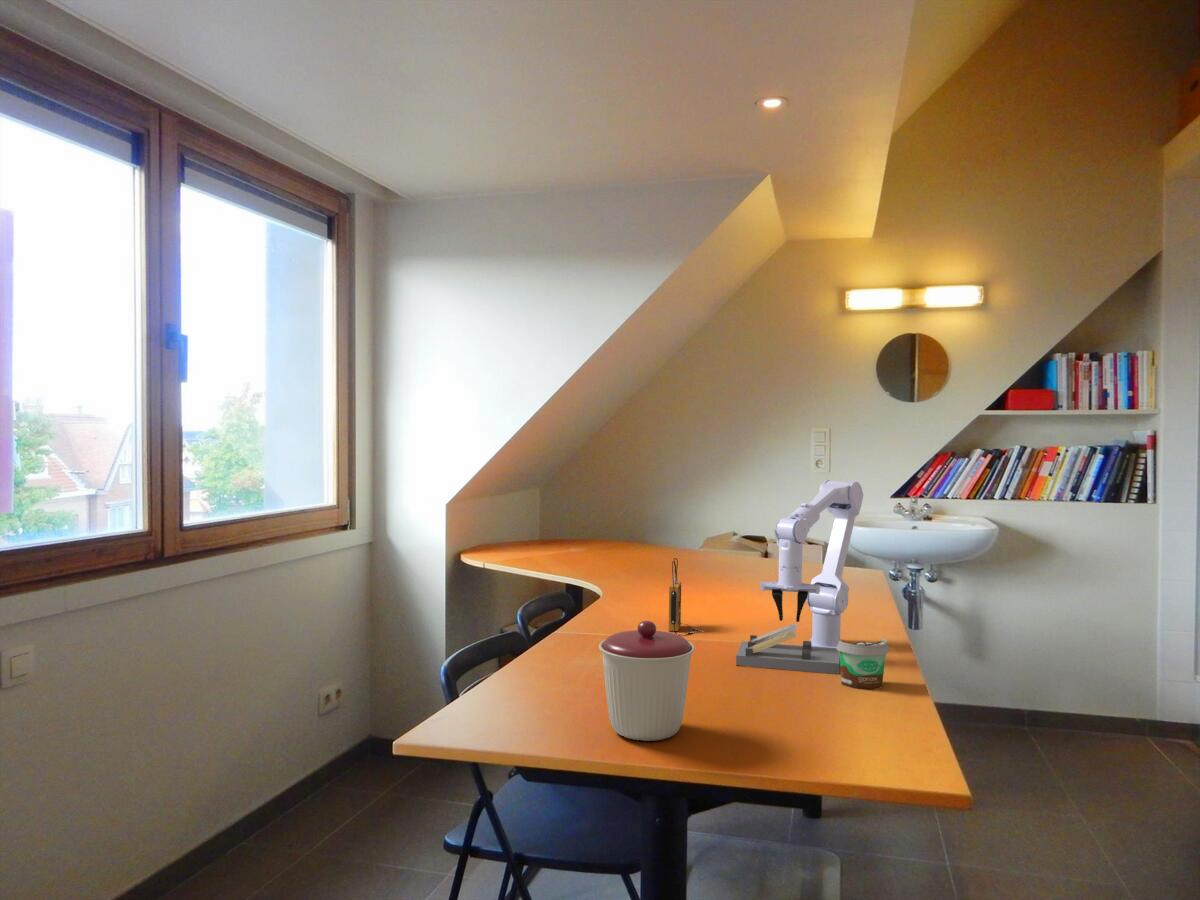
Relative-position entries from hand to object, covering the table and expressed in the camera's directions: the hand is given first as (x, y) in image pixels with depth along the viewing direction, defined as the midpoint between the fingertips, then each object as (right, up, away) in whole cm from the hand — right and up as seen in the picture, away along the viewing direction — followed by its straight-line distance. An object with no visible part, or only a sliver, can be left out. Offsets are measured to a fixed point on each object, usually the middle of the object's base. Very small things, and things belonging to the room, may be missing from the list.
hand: (789, 620), depth 212 cm
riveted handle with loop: (-23, -9, +28) cm, 37 cm away
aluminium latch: (-4, -4, +1) cm, 6 cm away
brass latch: (-6, -4, -7) cm, 10 cm away
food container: (+12, -11, -23) cm, 28 cm away
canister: (-39, -11, -51) cm, 65 cm away
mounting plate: (-1, -10, -4) cm, 10 cm away
